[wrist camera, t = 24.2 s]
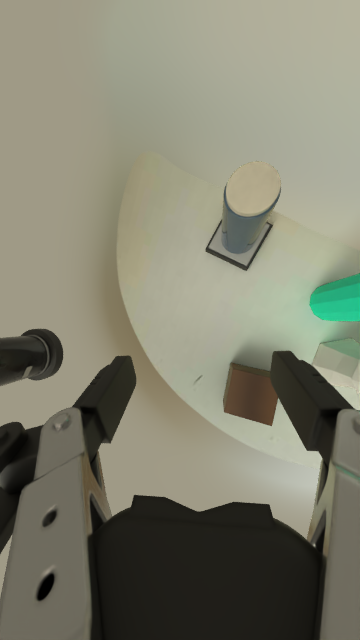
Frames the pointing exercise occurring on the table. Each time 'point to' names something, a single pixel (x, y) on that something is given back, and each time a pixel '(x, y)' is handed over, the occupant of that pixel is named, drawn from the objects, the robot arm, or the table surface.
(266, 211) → the canister
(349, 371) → the figurine
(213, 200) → the table surface
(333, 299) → the candle
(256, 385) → the block
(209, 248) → the scale
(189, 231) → the table surface
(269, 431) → the table surface
